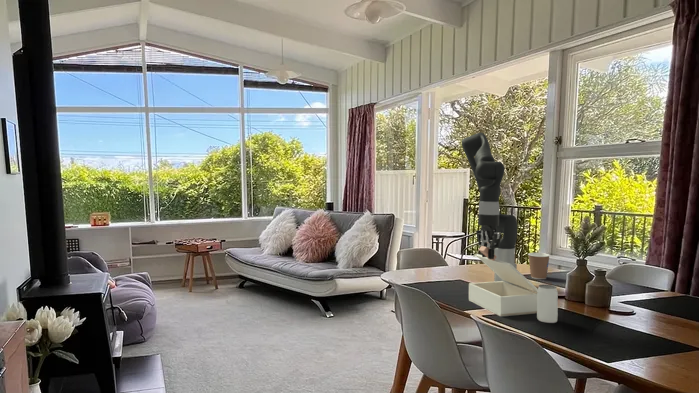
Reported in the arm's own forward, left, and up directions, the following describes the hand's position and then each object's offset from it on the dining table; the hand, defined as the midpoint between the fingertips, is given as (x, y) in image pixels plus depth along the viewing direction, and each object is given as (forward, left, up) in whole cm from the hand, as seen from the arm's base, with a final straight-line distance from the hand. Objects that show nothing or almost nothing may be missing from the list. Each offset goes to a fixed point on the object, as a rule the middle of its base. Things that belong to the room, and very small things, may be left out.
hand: (487, 257), depth 161 cm
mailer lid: (-6, 0, -5) cm, 7 cm away
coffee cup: (-54, -39, -20) cm, 70 cm away
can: (-11, +19, -20) cm, 30 cm away
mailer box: (-6, 0, -19) cm, 20 cm away
